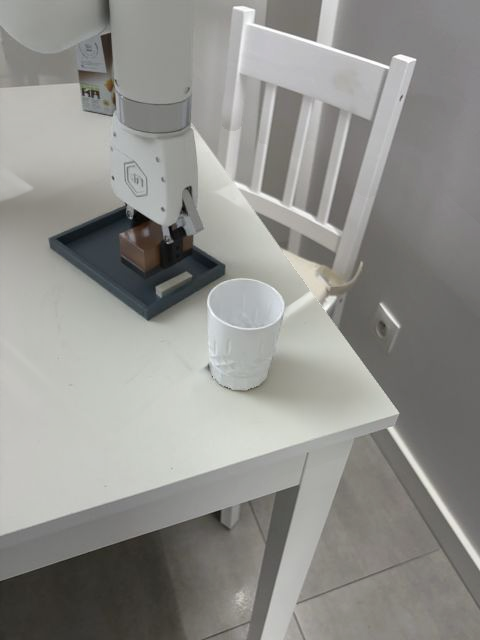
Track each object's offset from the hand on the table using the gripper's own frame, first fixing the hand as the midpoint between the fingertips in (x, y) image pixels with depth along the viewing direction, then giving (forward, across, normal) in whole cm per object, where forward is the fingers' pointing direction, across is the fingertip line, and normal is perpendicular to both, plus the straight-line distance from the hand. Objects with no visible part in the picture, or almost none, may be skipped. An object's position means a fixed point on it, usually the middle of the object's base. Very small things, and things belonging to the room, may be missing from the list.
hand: (157, 252), depth 69 cm
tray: (+4, -4, 0) cm, 6 cm away
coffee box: (+5, -47, +29) cm, 56 cm away
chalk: (+3, +3, 0) cm, 4 cm away
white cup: (+4, +18, -4) cm, 19 cm away
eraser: (+1, 0, 0) cm, 1 cm away
